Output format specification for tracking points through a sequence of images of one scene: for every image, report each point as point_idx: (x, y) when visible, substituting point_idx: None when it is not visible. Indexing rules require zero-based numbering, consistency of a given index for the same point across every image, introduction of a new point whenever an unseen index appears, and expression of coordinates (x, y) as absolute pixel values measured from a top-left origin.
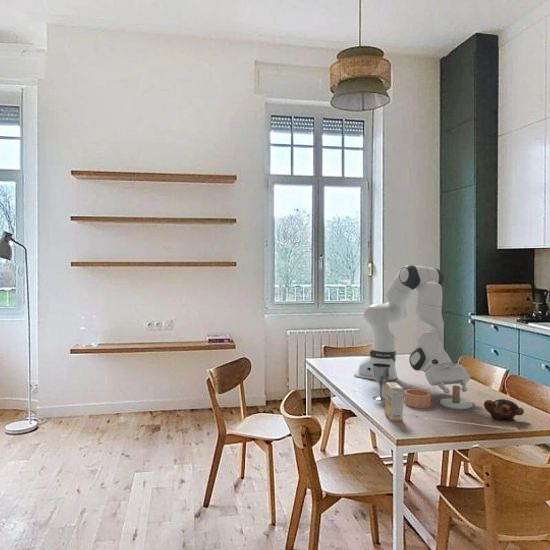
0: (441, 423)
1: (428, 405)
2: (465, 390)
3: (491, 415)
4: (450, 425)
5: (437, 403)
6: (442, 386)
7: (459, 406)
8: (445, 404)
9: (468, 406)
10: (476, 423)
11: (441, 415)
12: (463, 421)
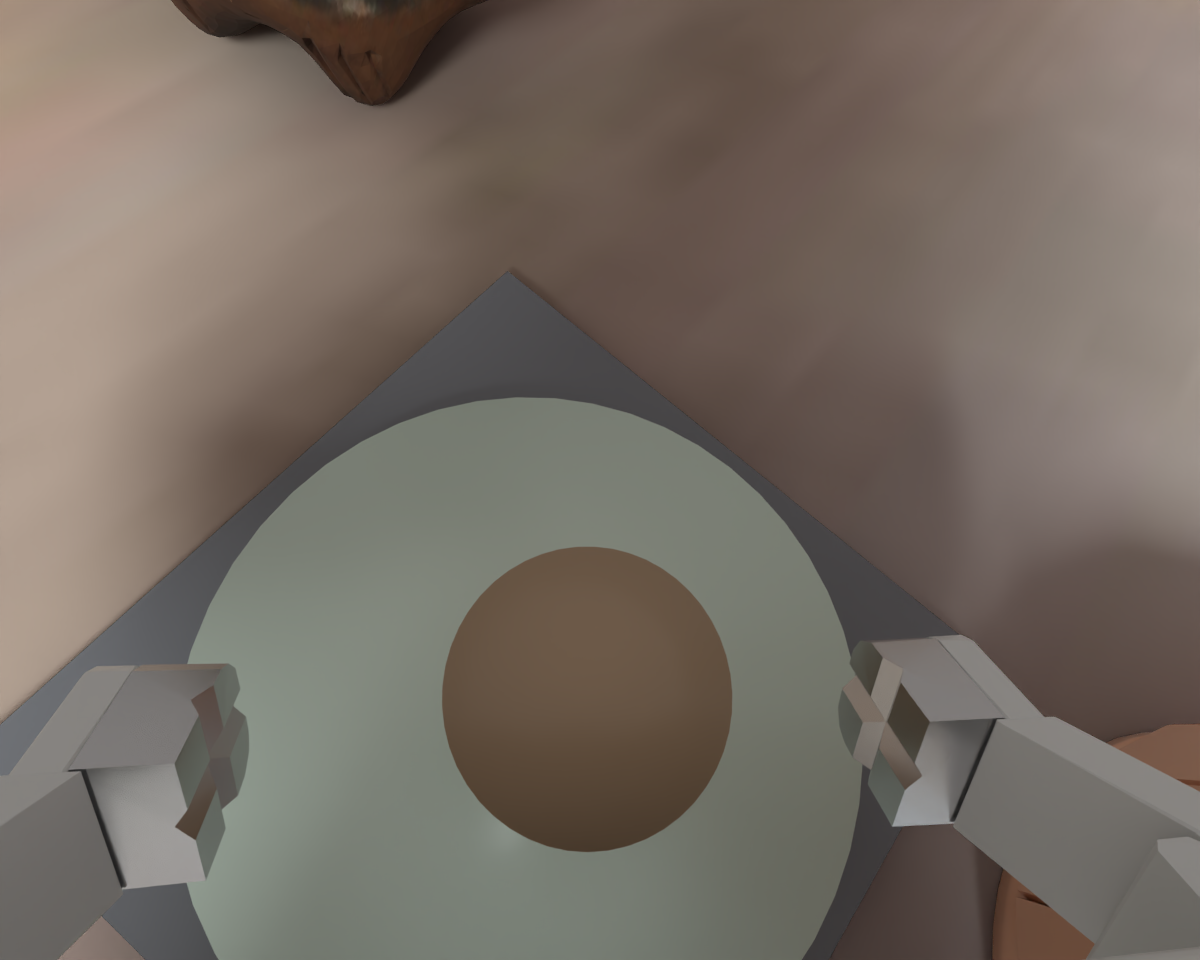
0: (1152, 178)
1: (1135, 748)
2: (196, 670)
3: (405, 77)
4: (1083, 106)
5: (841, 928)
6: (1158, 801)
7: (665, 449)
8: (844, 641)
9: (496, 400)
10: (763, 46)
11: (1032, 392)
12: (872, 138)
